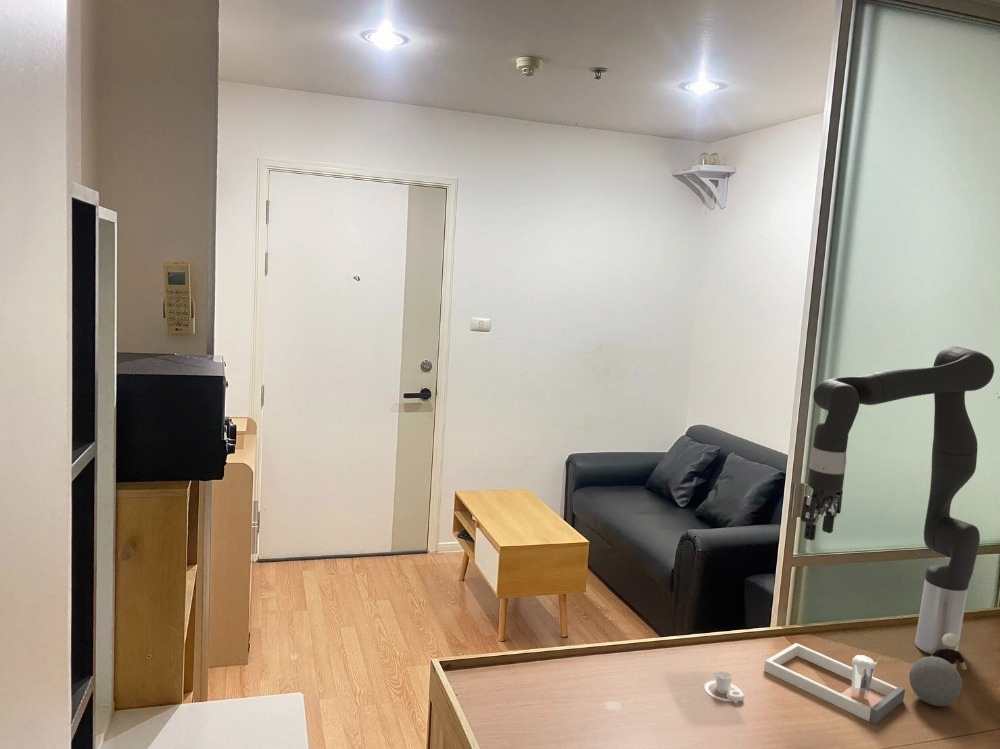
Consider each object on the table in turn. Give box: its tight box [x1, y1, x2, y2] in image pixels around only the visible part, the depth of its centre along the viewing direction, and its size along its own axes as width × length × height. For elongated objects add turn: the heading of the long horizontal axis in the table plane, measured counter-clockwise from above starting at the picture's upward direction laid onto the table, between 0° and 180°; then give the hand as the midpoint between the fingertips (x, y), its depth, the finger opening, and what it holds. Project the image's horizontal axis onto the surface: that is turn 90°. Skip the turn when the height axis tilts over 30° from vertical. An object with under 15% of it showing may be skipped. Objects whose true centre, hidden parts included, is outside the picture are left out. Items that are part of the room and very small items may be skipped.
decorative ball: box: [908, 655, 963, 707], centre depth 169 cm, size 10×10×10 cm
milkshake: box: [850, 654, 882, 701], centre depth 169 cm, size 4×5×10 cm
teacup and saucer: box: [703, 670, 746, 702], centre depth 169 cm, size 9×8×4 cm
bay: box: [763, 642, 906, 725], centre depth 174 cm, size 14×25×3 cm, turn 41°
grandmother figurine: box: [931, 633, 967, 671], centre depth 176 cm, size 8×4×13 cm, turn 89°
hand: (818, 535), depth 182 cm, fingers open, 8 cm apart
